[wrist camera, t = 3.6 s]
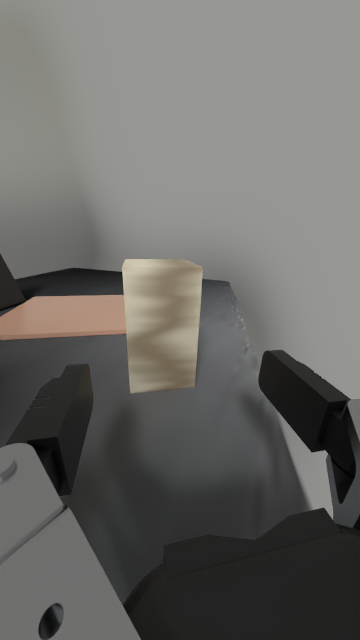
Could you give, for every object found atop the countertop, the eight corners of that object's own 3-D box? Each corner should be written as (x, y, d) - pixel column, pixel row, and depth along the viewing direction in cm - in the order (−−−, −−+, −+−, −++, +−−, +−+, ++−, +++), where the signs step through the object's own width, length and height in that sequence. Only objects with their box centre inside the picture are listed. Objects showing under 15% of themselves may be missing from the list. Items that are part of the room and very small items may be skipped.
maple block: (130, 393, 17) (122, 266, 14) (131, 358, 22) (125, 259, 19) (194, 386, 18) (203, 267, 15) (182, 355, 23) (185, 259, 20)
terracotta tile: (-32, 341, 25) (-34, 337, 24) (35, 299, 41) (34, 296, 41) (129, 333, 28) (129, 329, 28) (131, 297, 44) (131, 294, 44)
